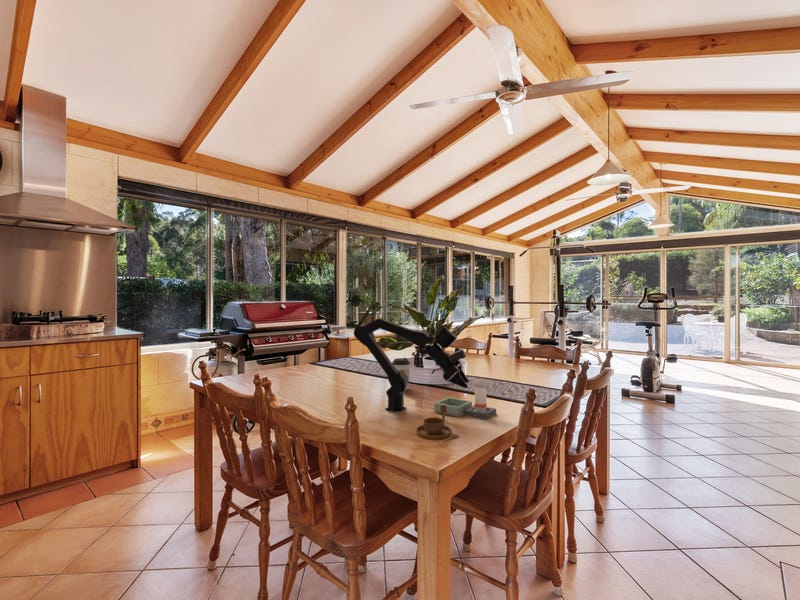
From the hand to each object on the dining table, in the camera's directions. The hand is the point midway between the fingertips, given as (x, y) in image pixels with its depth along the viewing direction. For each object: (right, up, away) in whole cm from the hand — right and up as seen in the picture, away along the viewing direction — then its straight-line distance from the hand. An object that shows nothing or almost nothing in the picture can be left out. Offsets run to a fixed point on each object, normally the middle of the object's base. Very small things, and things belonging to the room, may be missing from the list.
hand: (467, 384), depth 157 cm
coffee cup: (-26, -11, +43) cm, 51 cm away
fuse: (+5, -11, -1) cm, 12 cm away
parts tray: (-5, -11, +4) cm, 13 cm away
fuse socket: (+5, -11, -1) cm, 12 cm away
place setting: (-12, -13, -18) cm, 25 cm away
